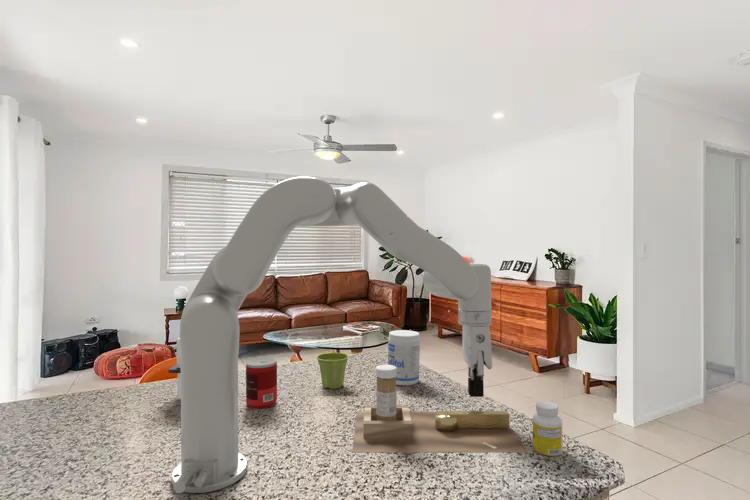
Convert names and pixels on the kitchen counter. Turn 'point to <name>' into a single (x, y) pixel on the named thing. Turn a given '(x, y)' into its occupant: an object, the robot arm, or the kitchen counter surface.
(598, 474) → the kitchen counter surface
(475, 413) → the lever
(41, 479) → the kitchen counter surface
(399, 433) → the socket
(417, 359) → the supplement tub
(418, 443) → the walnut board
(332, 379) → the plant pot
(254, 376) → the canned food
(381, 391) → the spice jar
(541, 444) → the supplement bottle
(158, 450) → the kitchen counter surface
